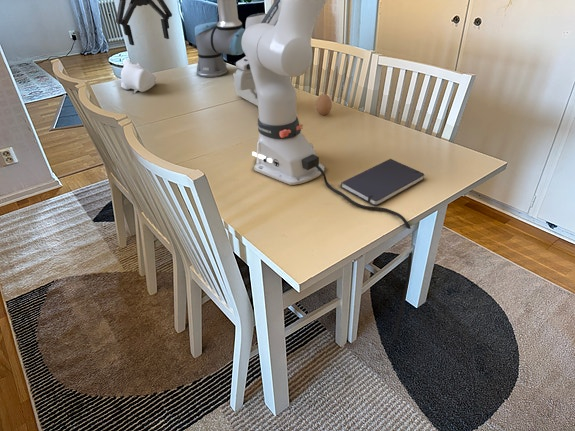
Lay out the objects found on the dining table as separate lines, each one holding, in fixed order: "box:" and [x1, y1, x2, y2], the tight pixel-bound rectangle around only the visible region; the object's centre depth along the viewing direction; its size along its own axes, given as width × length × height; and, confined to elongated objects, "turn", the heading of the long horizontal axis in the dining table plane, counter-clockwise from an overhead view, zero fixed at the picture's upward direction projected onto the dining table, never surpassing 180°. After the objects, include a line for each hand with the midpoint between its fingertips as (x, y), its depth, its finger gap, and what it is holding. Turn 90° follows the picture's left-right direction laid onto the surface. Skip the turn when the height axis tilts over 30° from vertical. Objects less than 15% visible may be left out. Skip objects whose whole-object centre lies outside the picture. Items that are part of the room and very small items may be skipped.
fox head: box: [120, 58, 157, 94], centre depth 185 cm, size 13×17×20 cm
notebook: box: [340, 158, 425, 206], centre depth 114 cm, size 13×2×21 cm
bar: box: [232, 72, 258, 107], centre depth 165 cm, size 23×5×9 cm, turn 34°
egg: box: [315, 93, 333, 116], centre depth 155 cm, size 6×6×8 cm
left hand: (149, 41), depth 149 cm, fingers open, 13 cm apart
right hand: (261, 96), depth 161 cm, fingers closed on bar, 5 cm apart
